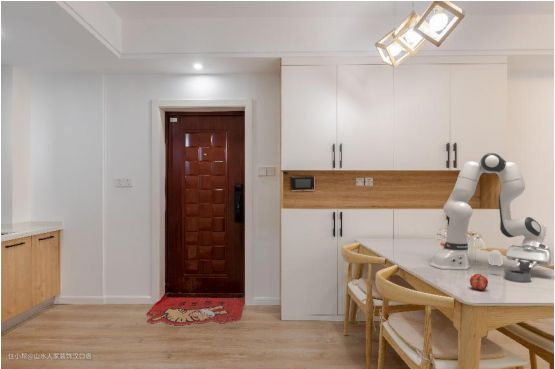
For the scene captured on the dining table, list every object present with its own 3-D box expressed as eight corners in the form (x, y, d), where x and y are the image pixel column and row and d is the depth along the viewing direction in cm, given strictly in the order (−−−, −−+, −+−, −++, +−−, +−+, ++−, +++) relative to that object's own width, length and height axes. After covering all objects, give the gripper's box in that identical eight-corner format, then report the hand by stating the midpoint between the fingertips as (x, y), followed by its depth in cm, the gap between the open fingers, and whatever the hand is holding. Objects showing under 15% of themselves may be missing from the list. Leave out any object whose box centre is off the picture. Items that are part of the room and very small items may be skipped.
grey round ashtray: (516, 282, 182) (516, 274, 182) (499, 277, 192) (499, 269, 192) (535, 282, 183) (535, 274, 183) (518, 276, 194) (518, 269, 194)
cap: (524, 277, 192) (524, 261, 192) (517, 274, 197) (517, 259, 197) (531, 276, 193) (532, 261, 193) (524, 274, 197) (525, 259, 197)
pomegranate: (469, 291, 174) (465, 281, 168) (474, 277, 177) (470, 268, 171) (486, 296, 169) (482, 287, 163) (491, 282, 172) (487, 272, 166)
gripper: (508, 241, 207) (501, 260, 201) (551, 246, 191) (545, 267, 185) (511, 248, 210) (504, 267, 204) (554, 254, 194) (548, 275, 188)
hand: (524, 267), depth 194 cm, fingers closed on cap, 4 cm apart
